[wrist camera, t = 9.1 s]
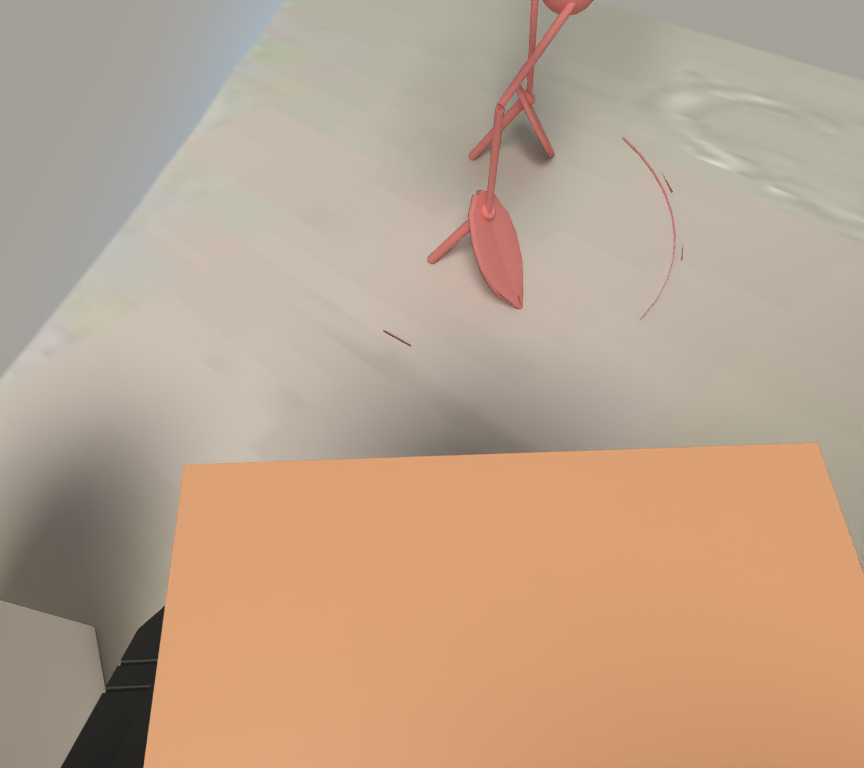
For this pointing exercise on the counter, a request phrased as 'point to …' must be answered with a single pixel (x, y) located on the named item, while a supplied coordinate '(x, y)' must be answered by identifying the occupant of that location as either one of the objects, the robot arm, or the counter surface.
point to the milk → (44, 685)
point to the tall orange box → (513, 613)
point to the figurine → (486, 212)
